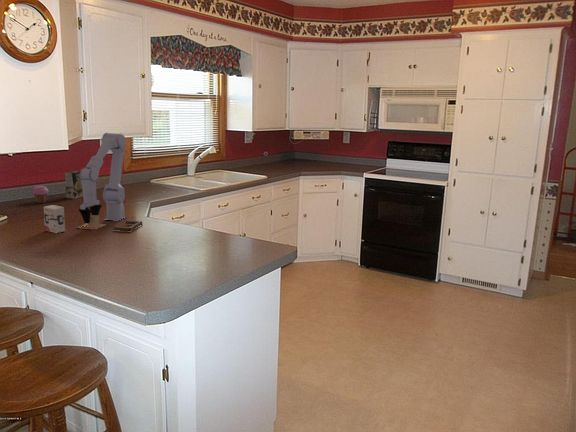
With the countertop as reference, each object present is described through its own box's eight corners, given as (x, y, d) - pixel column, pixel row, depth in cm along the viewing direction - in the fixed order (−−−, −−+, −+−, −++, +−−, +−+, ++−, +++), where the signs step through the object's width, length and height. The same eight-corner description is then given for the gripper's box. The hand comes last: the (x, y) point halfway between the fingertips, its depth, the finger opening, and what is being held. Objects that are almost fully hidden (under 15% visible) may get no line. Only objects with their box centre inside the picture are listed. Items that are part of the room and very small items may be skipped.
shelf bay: (126, 224, 237) (126, 220, 236) (142, 225, 236) (142, 221, 235) (113, 231, 223) (113, 227, 222) (129, 232, 222) (129, 228, 221)
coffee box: (75, 198, 293) (73, 172, 290) (65, 198, 295) (64, 172, 291) (84, 196, 302) (82, 171, 299) (75, 195, 303) (73, 170, 300)
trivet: (86, 224, 233) (86, 223, 233) (106, 225, 232) (106, 224, 232) (75, 229, 223) (75, 227, 223) (96, 230, 222) (96, 229, 222)
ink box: (44, 231, 217) (42, 206, 215) (54, 229, 221) (52, 204, 219) (56, 234, 213) (54, 208, 210) (66, 232, 217) (64, 207, 215)
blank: (91, 225, 230) (91, 214, 229) (99, 225, 229) (99, 215, 228) (87, 226, 226) (87, 216, 225) (95, 227, 225) (95, 217, 224)
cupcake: (48, 203, 276) (47, 186, 274) (31, 204, 273) (30, 186, 271) (50, 200, 284) (48, 184, 282) (33, 201, 281) (32, 184, 279)
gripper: (90, 196, 217) (91, 225, 220) (105, 191, 231) (106, 218, 234) (75, 195, 218) (76, 224, 220) (91, 190, 232) (92, 217, 235)
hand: (91, 221), depth 227 cm, fingers open, 7 cm apart
